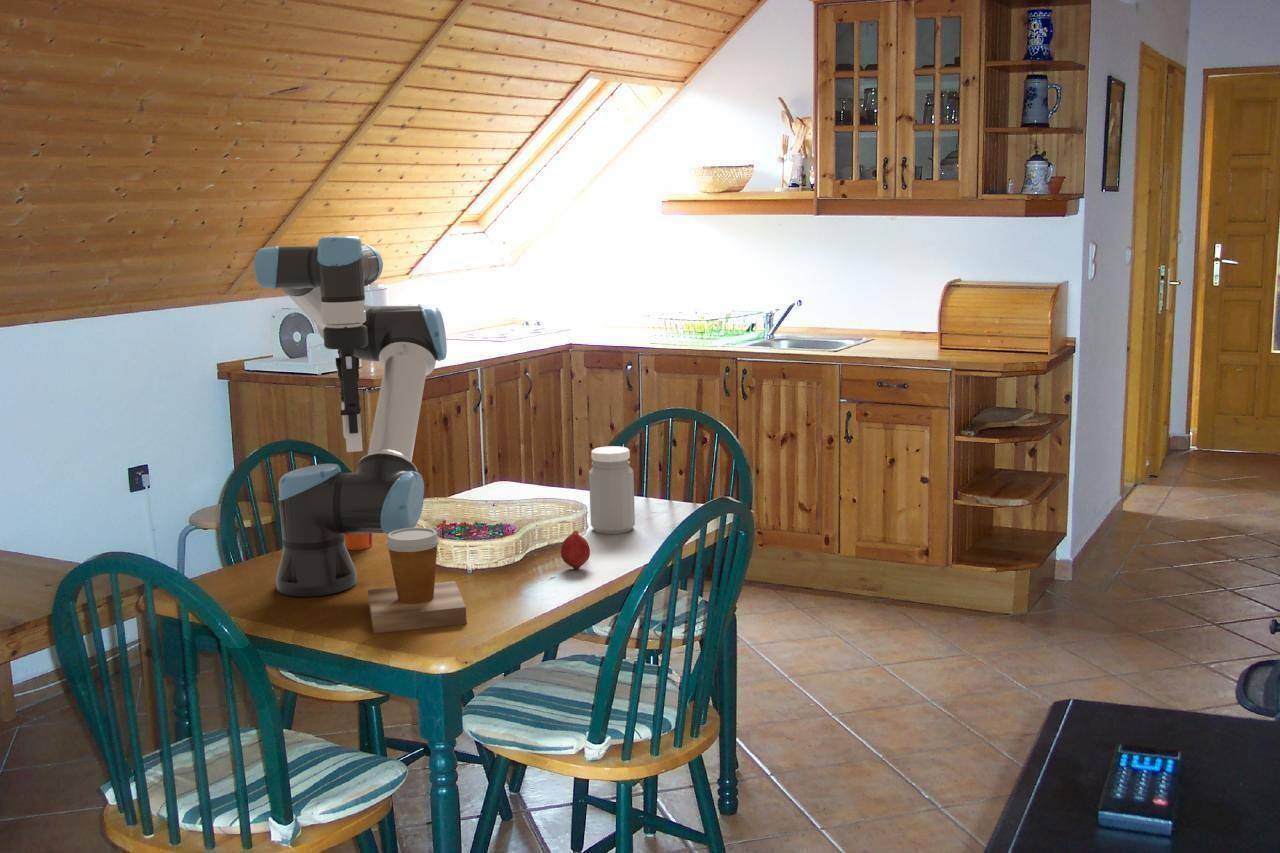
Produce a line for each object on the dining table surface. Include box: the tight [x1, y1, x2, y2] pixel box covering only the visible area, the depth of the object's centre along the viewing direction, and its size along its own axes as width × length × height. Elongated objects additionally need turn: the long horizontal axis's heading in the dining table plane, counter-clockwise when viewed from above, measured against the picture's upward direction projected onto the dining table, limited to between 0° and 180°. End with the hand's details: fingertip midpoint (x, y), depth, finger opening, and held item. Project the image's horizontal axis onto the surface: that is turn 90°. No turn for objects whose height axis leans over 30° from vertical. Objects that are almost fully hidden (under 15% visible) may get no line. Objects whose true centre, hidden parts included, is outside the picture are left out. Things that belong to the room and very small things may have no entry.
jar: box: [588, 445, 636, 535], centre depth 286 cm, size 10×10×18 cm
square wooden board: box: [367, 580, 468, 634], centre depth 233 cm, size 16×16×3 cm
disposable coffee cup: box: [384, 527, 441, 604], centre depth 232 cm, size 10×10×12 cm
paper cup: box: [344, 533, 373, 551], centre depth 278 cm, size 8×8×14 cm
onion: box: [560, 529, 591, 570], centre depth 258 cm, size 6×6×8 cm
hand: (353, 444), depth 232 cm, fingers open, 13 cm apart
